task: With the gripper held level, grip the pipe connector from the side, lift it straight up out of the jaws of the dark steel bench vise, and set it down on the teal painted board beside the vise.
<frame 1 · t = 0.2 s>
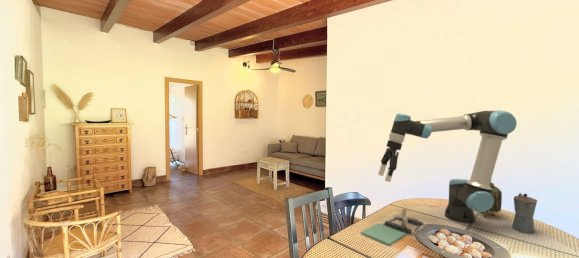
hand: (383, 178, 143), 27 cm above the table, tool tilted 15°, fingers open, 13 cm apart
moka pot: (522, 229, 139), on the table
pipe connector: (403, 226, 144), resting in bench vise
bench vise: (403, 226, 144), on the table
teal board: (383, 234, 134), on the table
olive green lantern: (488, 215, 158), on the table
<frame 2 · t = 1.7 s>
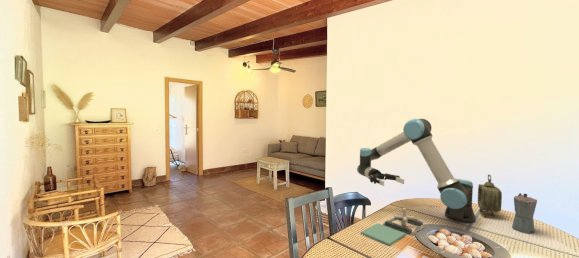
hand: (393, 182, 151), 22 cm above the table, tool horizontal, fingers open, 13 cm apart
nothing on the table moved.
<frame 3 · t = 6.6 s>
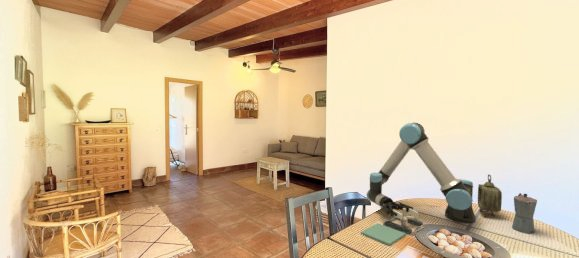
hand: (409, 216, 139), 8 cm above the table, tool horizontal, fingers closed on pipe connector, 9 cm apart
pipe connector: (403, 226, 144), resting in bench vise, touching gripper
everything else where it was.
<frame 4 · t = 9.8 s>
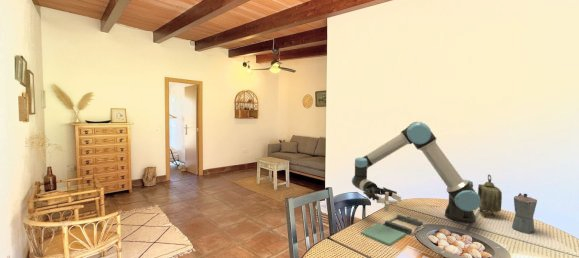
hand: (391, 200, 132), 19 cm above the table, tool horizontal, fingers closed on pipe connector, 9 cm apart
pipe connector: (386, 211, 137), point 11 cm above the table, touching gripper
everything else where it was.
when the fingers open (10 cm above the table, at t = 13.0 s): pipe connector drops 1 cm, resting on teal board.
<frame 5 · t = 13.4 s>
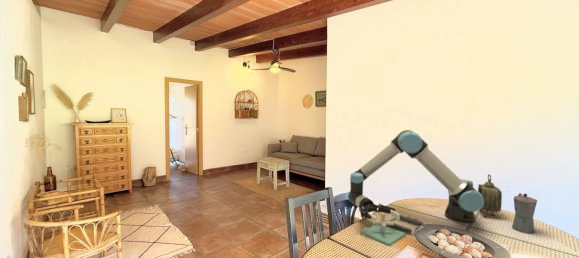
hand: (387, 218, 130), 10 cm above the table, tool horizontal, fingers open, 13 cm apart
pipe connector: (383, 232, 134), point 1 cm above the table, touching teal board
everything else where it was.
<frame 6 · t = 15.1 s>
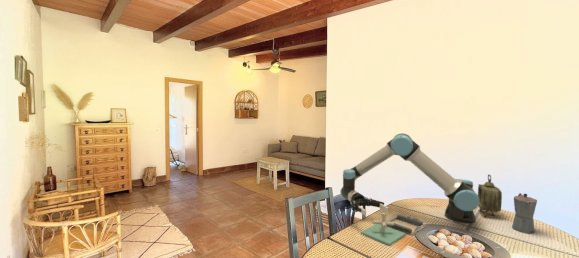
hand: (376, 211, 139), 10 cm above the table, tool horizontal, fingers open, 13 cm apart
nothing on the table moved.
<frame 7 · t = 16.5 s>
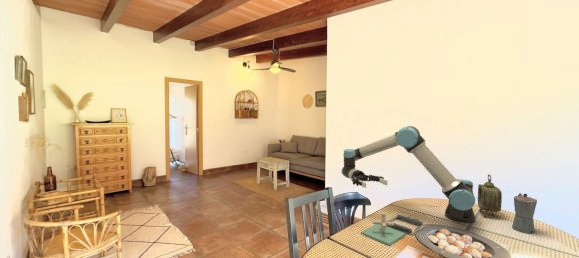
hand: (376, 184, 145), 23 cm above the table, tool horizontal, fingers open, 13 cm apart
nothing on the table moved.
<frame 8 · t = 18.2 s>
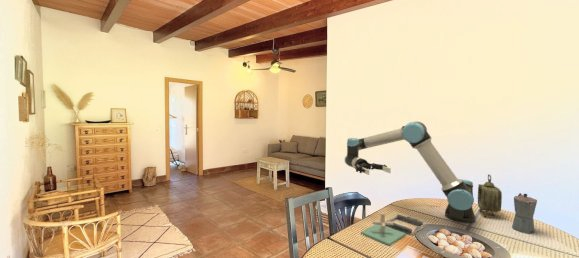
hand: (379, 171, 145), 30 cm above the table, tool horizontal, fingers open, 13 cm apart
nothing on the table moved.
at the end: pipe connector inside the target area on the teal board (0.1 cm from its centre), point 1.0 cm above the teal board's base; pipe connector moved 18.1 cm from its start; the gripper is holding nothing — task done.
